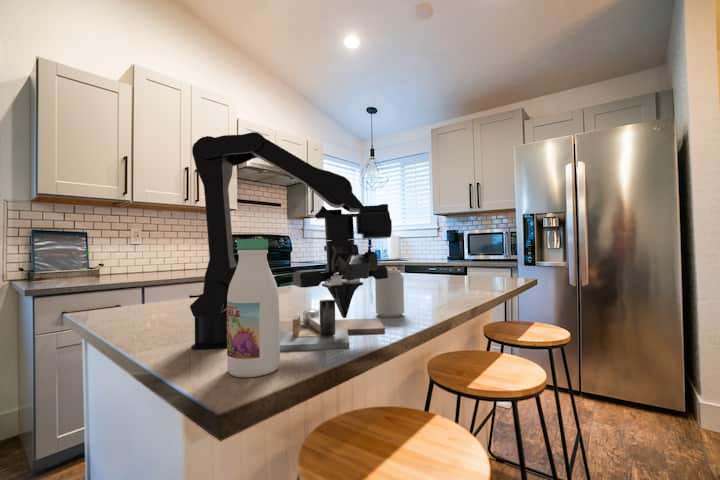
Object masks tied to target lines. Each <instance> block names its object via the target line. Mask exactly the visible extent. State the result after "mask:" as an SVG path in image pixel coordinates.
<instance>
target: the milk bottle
mask: <svg viewBox="0 0 720 480" xmlns="http://www.w3.org/2000/svg"><path fill="white" fill-rule="evenodd" d="M236 249H237V255H238V261H237V268H236V271H235V273H234V276H233V278H232V280H231V282H230V285H229V289H228V295H227V347H226V354H227V355H226V360H227V361H226V362H227V367H226V368H227V372H228V373H229V374H230V375H231V376H233V377H236V378H255V377H260V376H261V377H262V376H265V375H268V374H272V373H273V372H275V371H277V369H279V366H280V363H281V351H280V324H279V322H280V299H279V298H280V296H279V294H280V293H279V289H278V284H277V281H276V279H275V277H274V275H273V273H272V271H271V269H270V266H269V265H270V264H269V262H268V256H267V255H268V253H269V251H268V249H269V241H268V239H266V238H265V239H264V238H247V239H246V238H245V239H244V238H241V239H237V242H236Z"/></svg>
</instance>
